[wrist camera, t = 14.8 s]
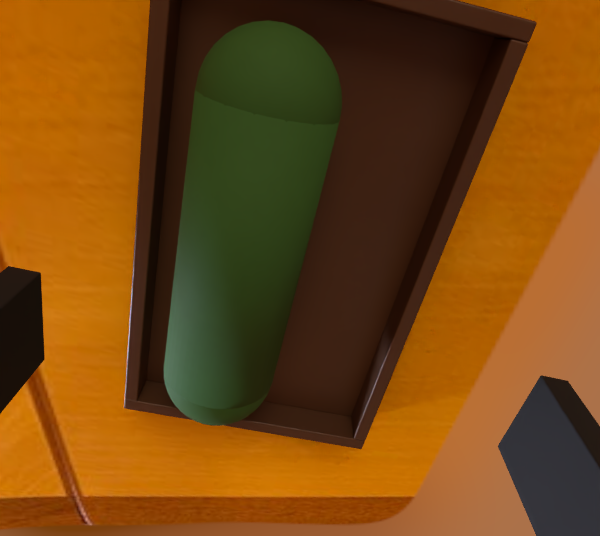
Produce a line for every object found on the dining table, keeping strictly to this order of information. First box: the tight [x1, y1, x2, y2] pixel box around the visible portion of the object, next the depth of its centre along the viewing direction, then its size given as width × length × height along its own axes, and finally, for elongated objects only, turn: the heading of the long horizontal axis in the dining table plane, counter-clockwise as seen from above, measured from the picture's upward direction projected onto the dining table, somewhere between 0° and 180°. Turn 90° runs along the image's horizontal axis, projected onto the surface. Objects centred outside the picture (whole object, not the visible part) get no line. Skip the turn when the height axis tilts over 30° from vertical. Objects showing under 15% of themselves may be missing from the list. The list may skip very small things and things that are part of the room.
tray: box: [124, 0, 536, 449], centre depth 19 cm, size 19×12×2 cm, turn 167°
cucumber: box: [164, 20, 342, 426], centre depth 17 cm, size 16×5×5 cm
